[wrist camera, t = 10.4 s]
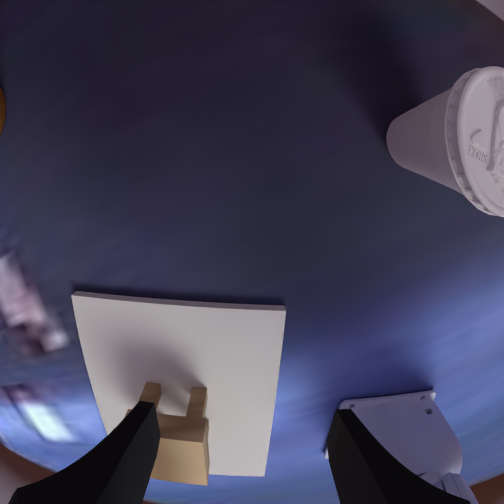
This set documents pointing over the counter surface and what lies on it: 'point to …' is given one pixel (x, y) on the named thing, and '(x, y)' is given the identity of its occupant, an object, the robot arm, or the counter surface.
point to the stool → (181, 439)
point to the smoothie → (458, 138)
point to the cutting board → (188, 366)
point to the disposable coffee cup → (2, 110)
